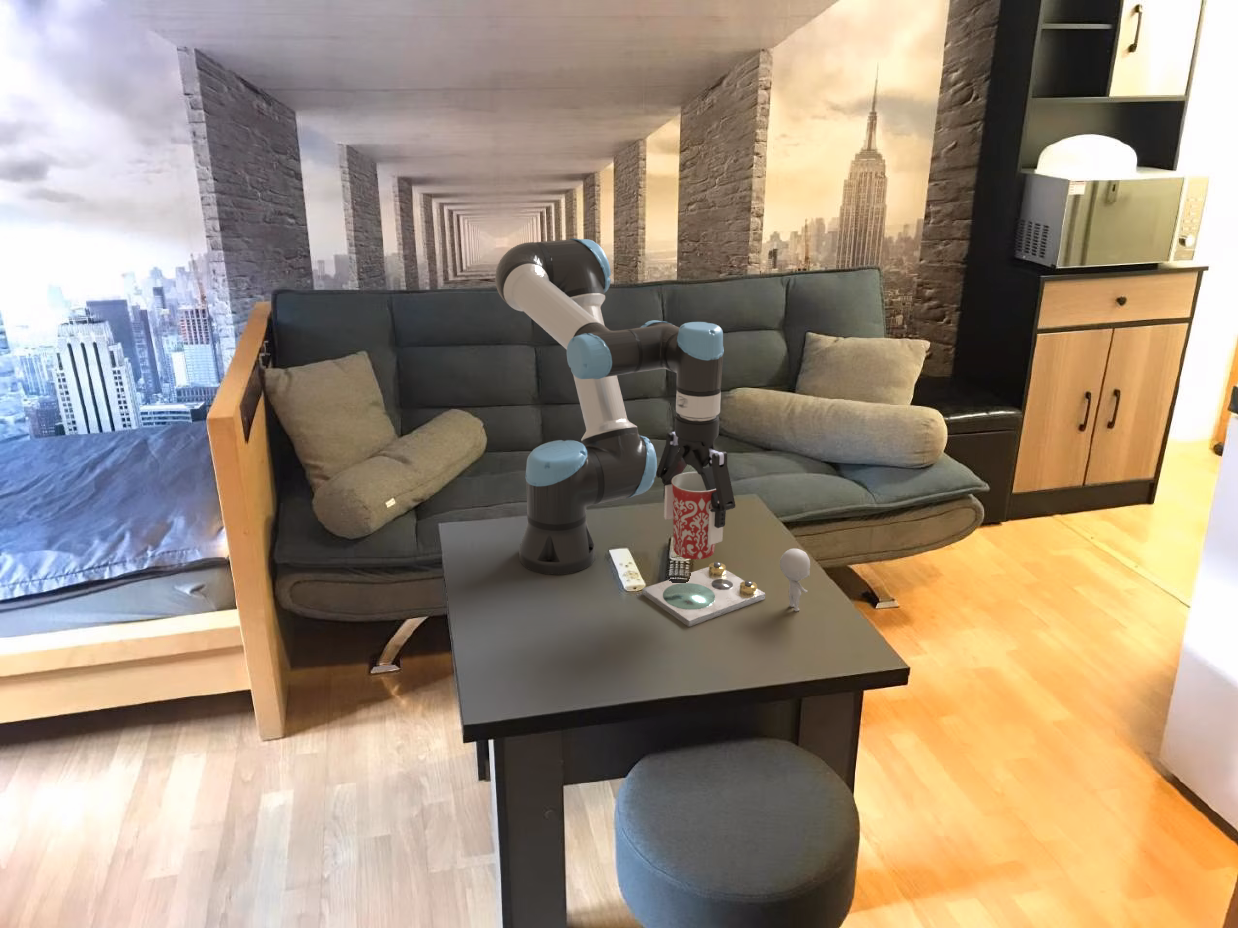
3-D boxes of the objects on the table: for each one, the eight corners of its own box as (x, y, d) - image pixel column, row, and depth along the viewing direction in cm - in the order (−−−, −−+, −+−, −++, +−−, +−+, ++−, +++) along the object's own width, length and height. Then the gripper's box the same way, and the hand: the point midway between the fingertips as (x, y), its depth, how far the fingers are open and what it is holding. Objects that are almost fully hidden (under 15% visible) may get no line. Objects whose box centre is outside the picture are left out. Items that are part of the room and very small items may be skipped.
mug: (726, 560, 169) (730, 489, 164) (675, 564, 168) (678, 492, 163) (706, 530, 181) (709, 462, 176) (659, 533, 179) (661, 465, 174)
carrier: (642, 594, 181) (642, 579, 180) (716, 569, 191) (717, 555, 190) (689, 626, 171) (689, 611, 169) (764, 599, 180) (765, 584, 179)
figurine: (815, 616, 174) (821, 557, 170) (789, 622, 172) (794, 562, 168) (792, 596, 181) (797, 538, 177) (767, 601, 179) (771, 542, 175)
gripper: (638, 400, 173) (636, 511, 180) (726, 438, 154) (720, 560, 162) (671, 393, 177) (668, 502, 184) (761, 430, 158) (753, 549, 166)
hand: (692, 529), depth 173 cm, fingers closed on mug, 12 cm apart
